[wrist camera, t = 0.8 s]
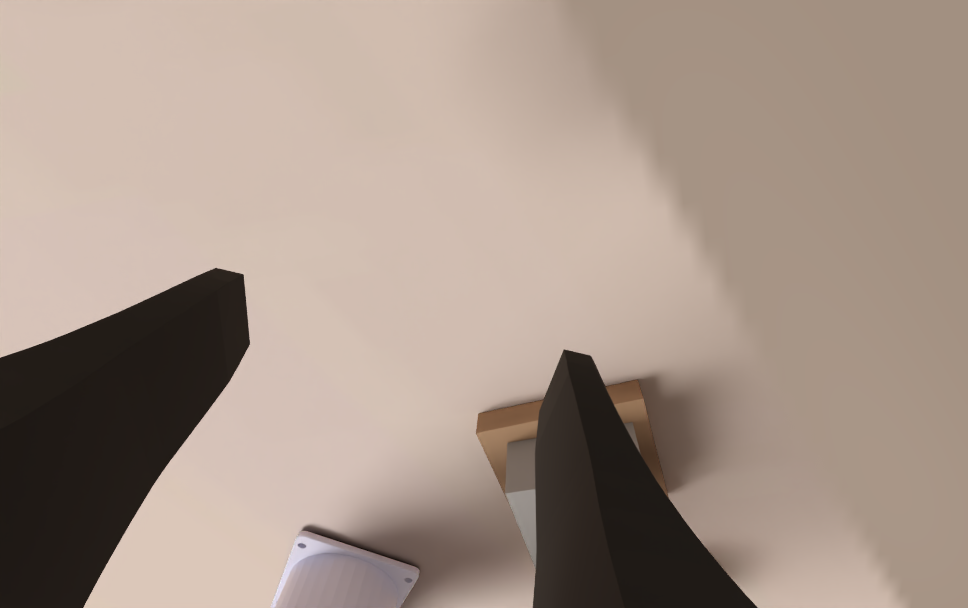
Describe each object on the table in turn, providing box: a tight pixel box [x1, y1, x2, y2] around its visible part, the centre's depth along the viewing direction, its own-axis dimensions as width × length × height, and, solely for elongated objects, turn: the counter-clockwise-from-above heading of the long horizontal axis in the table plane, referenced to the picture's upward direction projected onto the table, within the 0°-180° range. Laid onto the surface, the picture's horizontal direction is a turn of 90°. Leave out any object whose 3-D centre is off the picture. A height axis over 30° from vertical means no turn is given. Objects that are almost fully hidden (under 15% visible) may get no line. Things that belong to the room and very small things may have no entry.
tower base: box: [476, 380, 668, 505], centre depth 27 cm, size 8×8×2 cm
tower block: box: [505, 422, 641, 569], centre depth 24 cm, size 6×6×3 cm
